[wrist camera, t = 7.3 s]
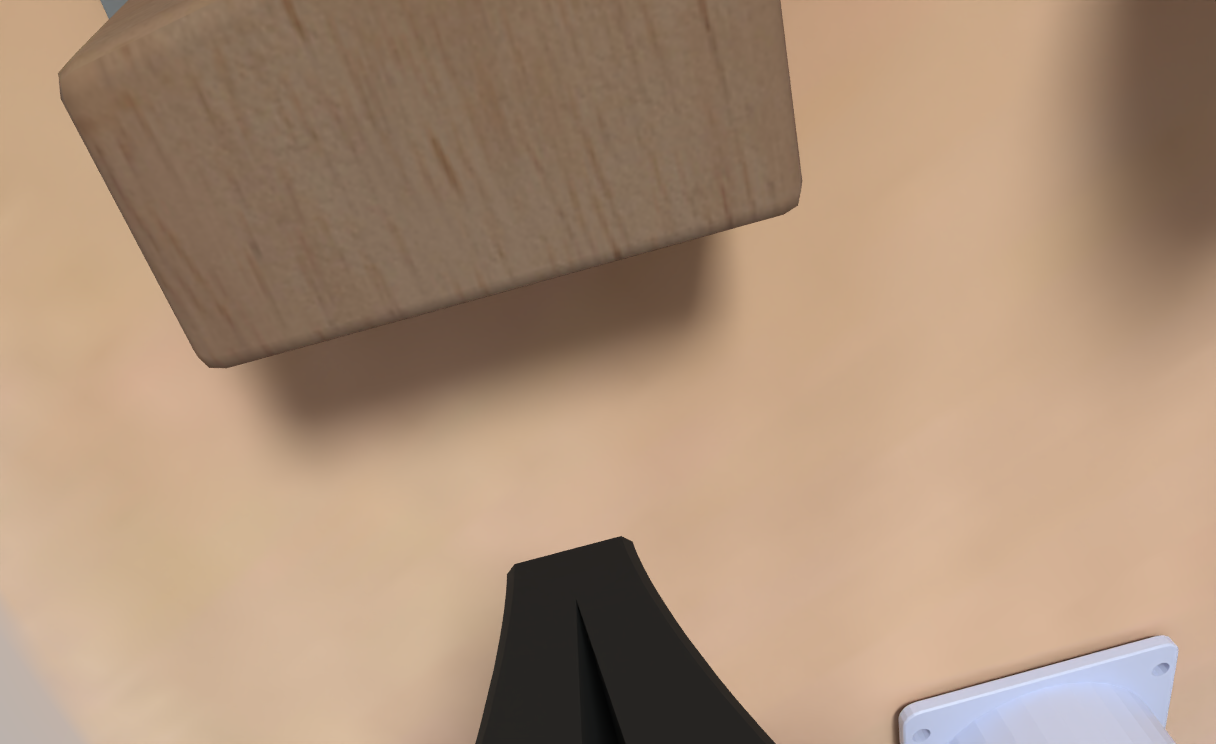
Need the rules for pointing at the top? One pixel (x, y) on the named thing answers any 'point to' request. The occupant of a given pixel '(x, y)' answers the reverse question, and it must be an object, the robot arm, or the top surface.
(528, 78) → the wooden block
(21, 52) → the top surface
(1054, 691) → the robot arm
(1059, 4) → the top surface
